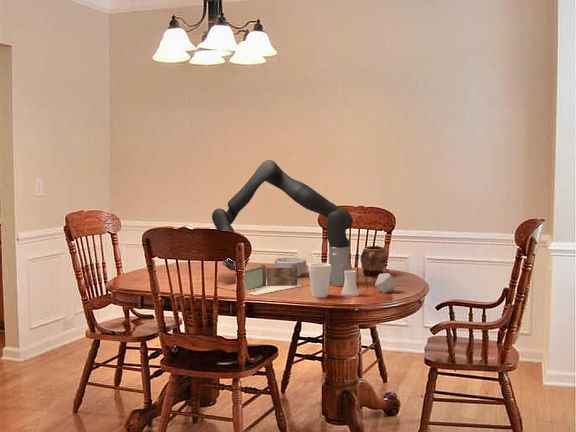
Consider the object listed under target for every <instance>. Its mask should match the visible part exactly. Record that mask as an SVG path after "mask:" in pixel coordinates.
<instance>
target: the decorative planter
mask: <svg viewBox="0 0 576 432" xmlns="http://www.w3.org/2000/svg"><path fill="white" fill-rule="evenodd" d="M385 251H386V249H385V247H384V246H379V245H372V246H371V245H369V246H366V247H364V248H363V249H362V252H361V254H360V263H361V267H362V274H363V276H364V277H368V278H369V277H370V278H371V277H372V278H373V277H374V278H376V277H377V278H378V276H379V274H384V268H385V265H386V263H387V254H386V253H385Z"/></svg>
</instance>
